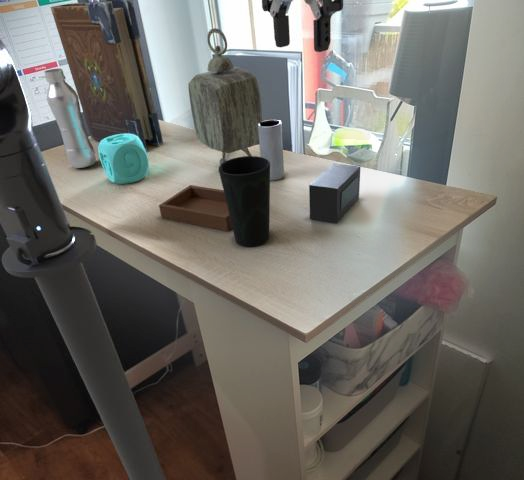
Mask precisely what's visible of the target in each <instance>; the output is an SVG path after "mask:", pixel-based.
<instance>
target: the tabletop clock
mask: <svg viewBox="0 0 524 480" xmlns="http://www.w3.org/2000/svg"><path fill="white" fill-rule="evenodd" d="M215 33H216V34H218V35H219V36H220V37H221V39H222V40H223V42H224V48H223V49H221V48H222V47H221V45H216V46H215V47H213V46H212V44H211V36H212V34H215ZM207 44H208V47H209V49H210V51H211V52H212V53H213V54H215V56H214V57H212V58H211V59H210V60H209V62H208V64H207V68H206V69H207V71H206V72H202V73H197V74H195V76H193V78H192V79H191V80H190V81H189V82H188V97H189V103H190V110H191V116H192V121H193V125H194V130H195V134H196V138H197V139H198V141H199V142H200V143H201V144H202V145H204V146H206V147H208V148H209V149H212V150H215V151H217V152H221V153H222V154H221V155H222V157H221V158H220V159H219V164H220V165H221V164H222V163H224V162H225V161H227V158H226V154H227V155H231V154H232V153H235V152H238V151H242V152H243V153H245V154H246V156H253V155H252V154H251V152H250V150H249V148H251V147H254V146H257V145H260V144H259V132H258V124H259V123H260V122H262V121H263V111H262V110H263V109H262V102H261V93H260V88H259V83H258V80H257V76H255V74H253V73H252V72H251V71H249V70H247V69H244V68H242V67H237V66H234V64H233V63H232V61H231V59H230V58H228V57H227V56H225V55H224V54H226V53H227V50H228V40H227V37H226V36H225V33H224V32H223V31H222V30H221V29H220V28H217V27H216V28H215V27H213V28H211V29H210V30H209V31H208V32H207Z"/></svg>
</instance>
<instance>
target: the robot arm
mask: <svg viewBox="0 0 524 480" xmlns="http://www.w3.org/2000/svg"><path fill="white" fill-rule="evenodd" d="M293 1H294V0H261V7H262V8H261V9H262V11H263V12H268V13H269V15H270V16H271V17H272V21H273V22H272V23H273V37H274V38H273V39H274V42H275V47H276V48H284V47H288V46H289V45H290V43H291V38H290V18H289V17H290V16H289V15H288V13H289V10H290V7H291V4H292V2H293ZM303 1H304V3H305V4H307V5H308V6H309V7H310V10H311V12H312V14H313V17H314V19H313V50H314V52H316V53H322V52H325V51H328V50H329V48H330V46H331V45H330V44H331V35H332V34H331V29H332V27H331V24H332V23H331V22H332V21H331V19H332V16H333V15H334V14H336V13H337V12H342V10H343V9H344V0H303ZM33 125H34V124H33V118H32V112H31V109H30V106H29V103H28V100H27V97H26V94H25V91H24V88H23V86H22V82H21V79H20V77H19V74H18V71H17V69H16V66H15V63H14V61H13V58H12V56H11V53H10V52H9V50H8V48H7V47H6V45H5V43H4V42H3V40H2V39H1V38H0V225H1V226H2V229H3V231H4V233H5V235H6V237H5V238H6V241H7V243H8V245H9V247H11V249H12V251H13V253H14V254H15V255H16V257H17V259H18V260H19V262H21V263H23V264H26V265H28V266H30V265H31V263H32V262H31V261H33V262H37V263H41V262H43V261H45V260H48V259H52V258H55V257H58V256H60V255H62V254H64V253H66V252H68V251H69V250H71V249H72V248H73V247H74V245H75V243H76V240H75V237H74V235H73V233H72V231H71V230H72V229H71V228H70V226H71V224H70V222H69V221H68V218H67V216H66V213H65V210H64V207H63V205H62V202H61V199H60V198H59V194H58V193H57V189H56V187H55V184H54V182H53V178H52V177H51V174H50V171H49V169H48V166H47V164H46V161H45V158H44V155H43V154H42V153H43V152H42V151H41V148H40V145H39V142H38V140H37V137H36V135H35V132H34V127H33ZM29 260H30V261H29Z"/></svg>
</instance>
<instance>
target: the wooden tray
mask: <svg viewBox="0 0 524 480" xmlns="http://www.w3.org/2000/svg"><path fill="white" fill-rule="evenodd" d="M158 208H159V213H160V216H161V219H165V220H170V221H173V222H179V223H184V224H190V225H195V226H200V227H205V228H210V229H215V230H220V231H225V232H229V231H230V230H231V229H233V228H232V224H231V219H230V215H229V211H228V207H227V203H226V199H225V194H224V190H223V189H220V188H219V189H218V188H212V187H206V186H199V185H192V184H190V185H188V186H186V187H185V188H183V189H182V190H180V191H179V192H177V193H175V194H174V195H172V196H171V197H170V198H168V199H166V200H165V201H164V202H162V203H160V204H158Z"/></svg>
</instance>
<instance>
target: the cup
mask: <svg viewBox="0 0 524 480" xmlns="http://www.w3.org/2000/svg"><path fill="white" fill-rule="evenodd" d="M226 160H227V159H226ZM218 172H219V177H220V182H221V186H222V190H224V194H225V199H226V203H227V207H228V211H229V215H230V219H231V224H232V228H231V229H232V231H233V236H234V240H235V243H236V244H237V245H239V246H241V247H244V248H255V247H259V246H262V245H264V244H266V243H267V242H268V241H269V239H270V214H271V213H270V211H271V210H270V208H271V207H270V205H271V180H270V162H269V161H268V160H267V159H265V158H262V157H261V156H256V155H252V156H248V155H245V156H244V155H243V156H238V157H234V158H230V159H228V160H227V161H225V162H224V163H222V164H220V165H219V166H218Z"/></svg>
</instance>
